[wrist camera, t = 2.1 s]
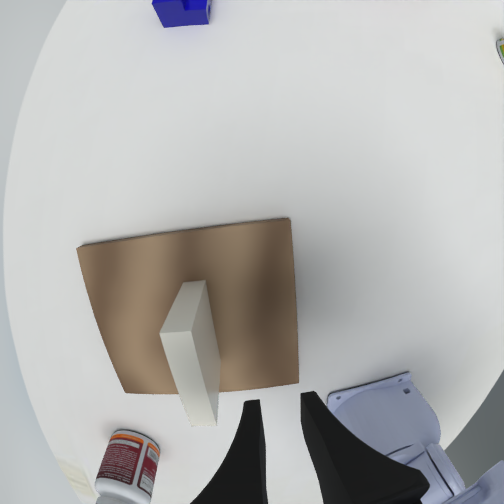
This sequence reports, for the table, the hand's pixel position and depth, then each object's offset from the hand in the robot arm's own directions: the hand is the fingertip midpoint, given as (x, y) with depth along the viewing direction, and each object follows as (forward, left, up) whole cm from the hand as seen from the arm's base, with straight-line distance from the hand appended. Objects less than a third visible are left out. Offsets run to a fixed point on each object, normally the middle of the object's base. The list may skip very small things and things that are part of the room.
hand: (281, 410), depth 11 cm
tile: (+4, 0, -9) cm, 10 cm away
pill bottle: (+16, +17, -11) cm, 26 cm away
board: (+6, 0, -10) cm, 12 cm away
